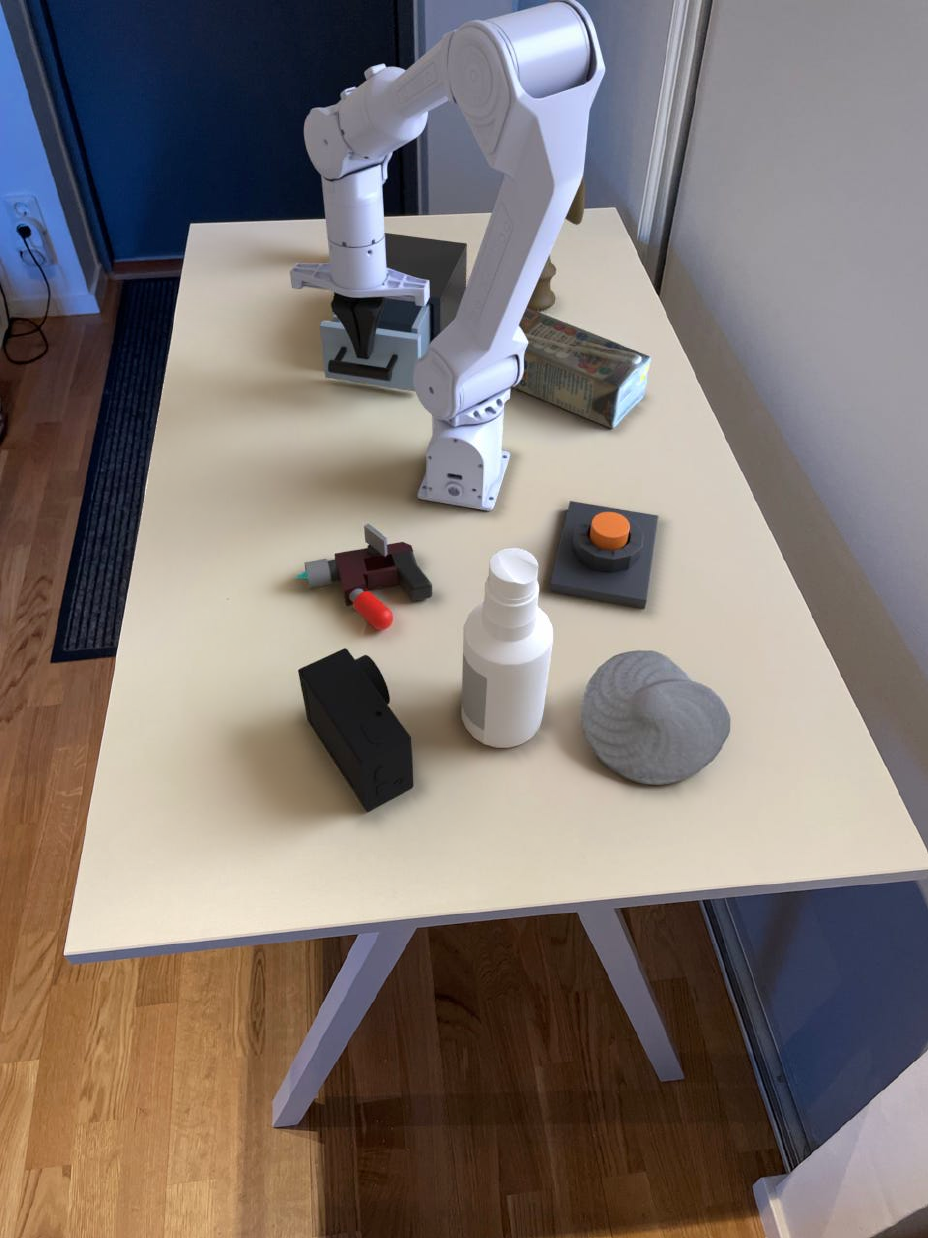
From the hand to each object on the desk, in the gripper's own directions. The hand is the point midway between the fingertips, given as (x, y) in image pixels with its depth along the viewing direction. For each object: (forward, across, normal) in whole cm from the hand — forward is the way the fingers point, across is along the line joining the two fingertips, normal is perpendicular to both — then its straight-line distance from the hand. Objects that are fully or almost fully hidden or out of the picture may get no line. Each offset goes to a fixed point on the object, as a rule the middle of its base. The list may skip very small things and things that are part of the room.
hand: (365, 353), depth 102 cm
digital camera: (+6, -14, +46) cm, 48 cm away
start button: (+4, -30, +19) cm, 36 cm away
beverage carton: (+6, -21, -8) cm, 23 cm away
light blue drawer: (+5, 0, -6) cm, 8 cm away
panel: (+6, -30, +19) cm, 36 cm away
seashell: (+6, -36, +39) cm, 53 cm away
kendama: (+6, -15, -26) cm, 31 cm away
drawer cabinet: (+6, 0, -16) cm, 17 cm away
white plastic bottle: (+6, -24, +40) cm, 47 cm away
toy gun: (+6, -9, +30) cm, 32 cm away
